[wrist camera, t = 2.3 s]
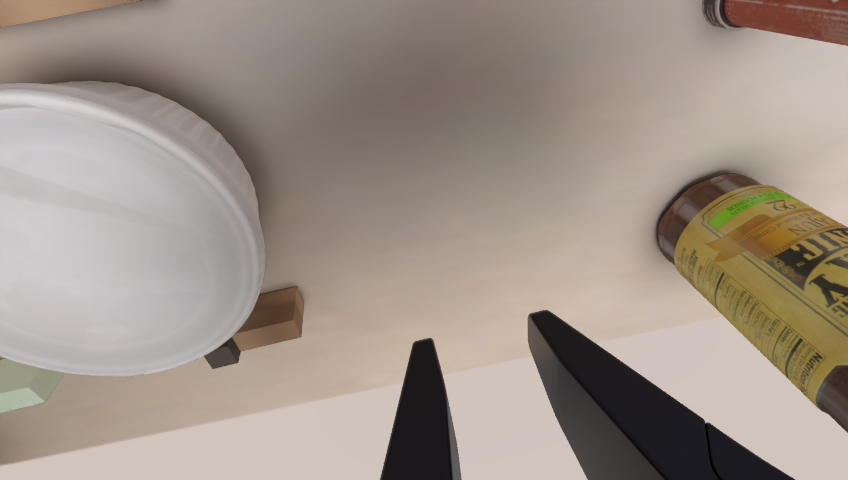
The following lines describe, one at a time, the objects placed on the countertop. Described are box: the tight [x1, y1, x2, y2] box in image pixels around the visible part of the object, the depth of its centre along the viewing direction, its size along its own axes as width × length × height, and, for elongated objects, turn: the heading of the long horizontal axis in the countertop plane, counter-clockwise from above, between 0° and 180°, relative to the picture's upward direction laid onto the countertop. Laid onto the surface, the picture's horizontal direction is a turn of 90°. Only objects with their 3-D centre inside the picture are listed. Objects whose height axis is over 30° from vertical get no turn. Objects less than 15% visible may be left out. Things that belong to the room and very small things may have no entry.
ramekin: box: [0, 81, 266, 376], centre depth 16 cm, size 11×11×5 cm
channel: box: [0, 0, 304, 369], centre depth 17 cm, size 12×16×3 cm
